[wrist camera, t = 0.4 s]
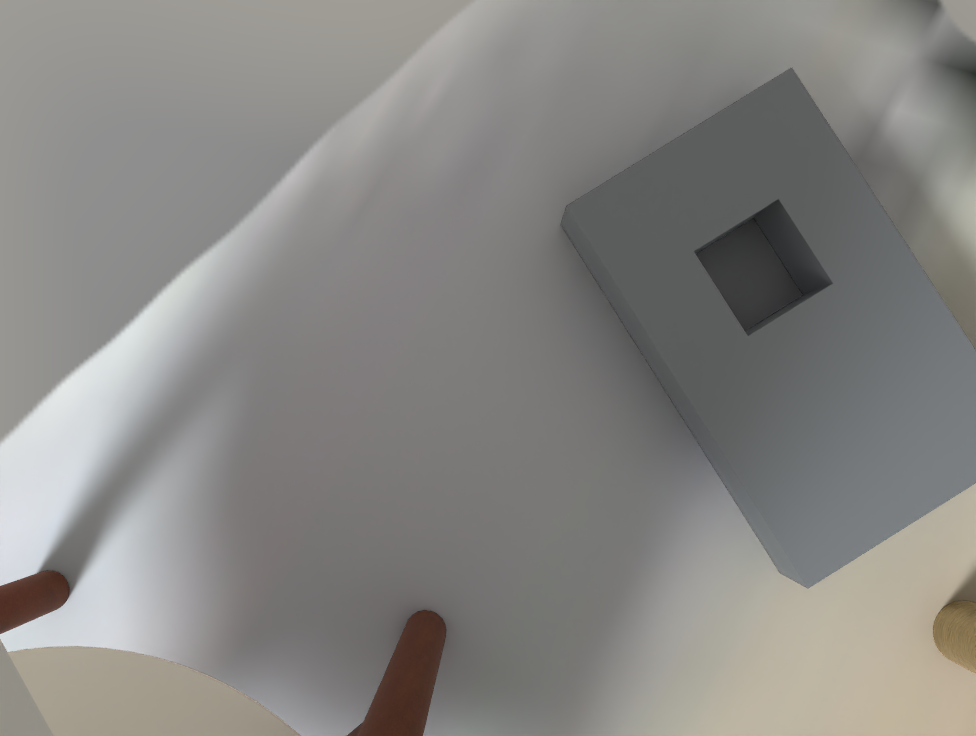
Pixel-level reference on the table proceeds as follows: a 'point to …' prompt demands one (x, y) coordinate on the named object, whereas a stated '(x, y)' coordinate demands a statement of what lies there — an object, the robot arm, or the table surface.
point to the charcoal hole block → (790, 330)
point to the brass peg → (957, 633)
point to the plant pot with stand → (190, 682)
